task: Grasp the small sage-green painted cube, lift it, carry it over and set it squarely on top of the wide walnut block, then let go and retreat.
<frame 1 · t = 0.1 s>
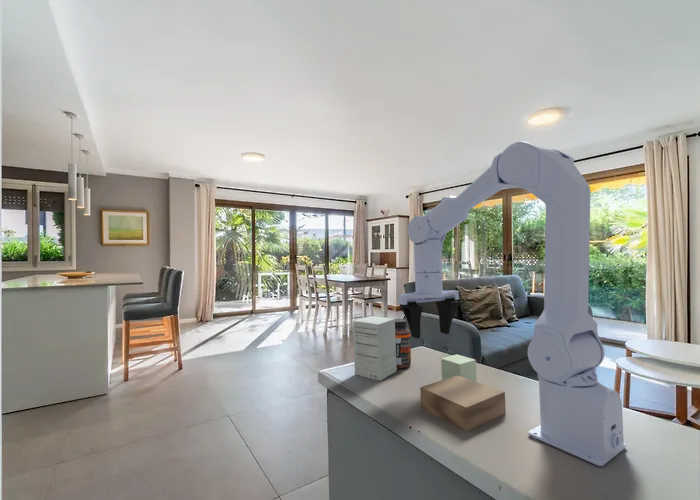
hand: (430, 335, 72), 10 cm above the counter, fingers open, 7 cm apart
supplement bottle: (399, 366, 84), on the counter
supplement box: (375, 374, 78), on the counter
sage cube: (459, 382, 72), on the counter
walnut block: (462, 412, 59), on the counter
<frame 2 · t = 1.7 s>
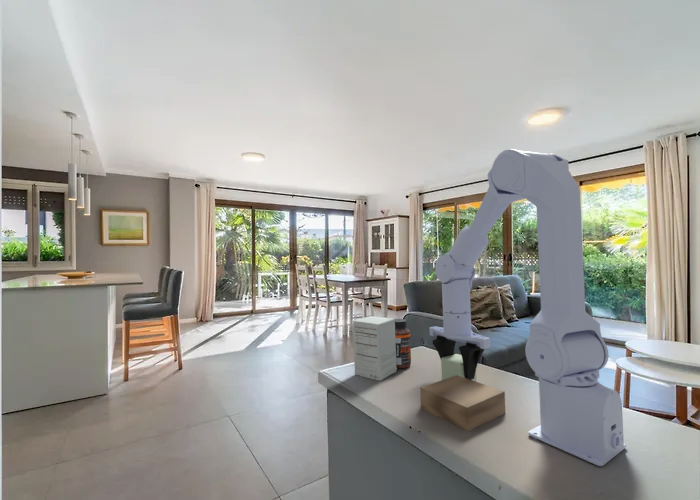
hand: (458, 375, 72), 1 cm above the counter, fingers closed on sage cube, 5 cm apart
sage cube: (459, 382, 72), on the counter, touching gripper
everything else where it was.
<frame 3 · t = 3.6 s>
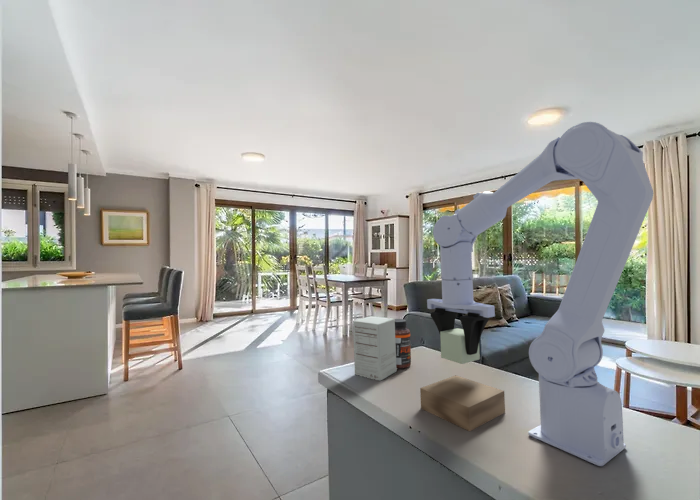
hand: (459, 350, 64), 9 cm above the counter, fingers closed on sage cube, 5 cm apart
sage cube: (460, 358, 64), point 7 cm above the counter, touching gripper
everything else where it was.
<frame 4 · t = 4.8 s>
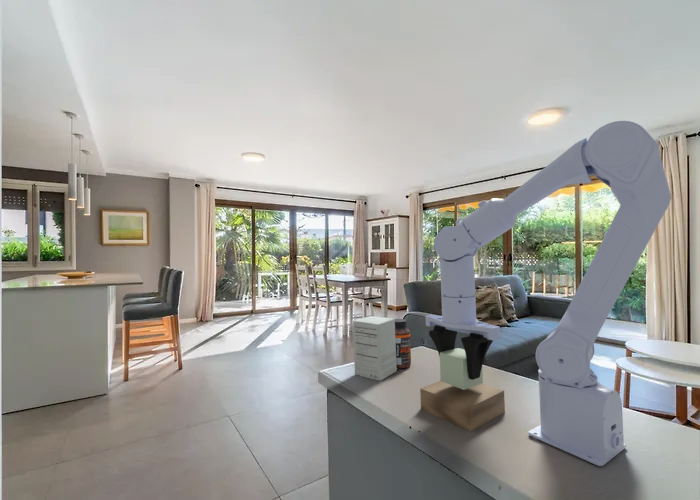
hand: (460, 373, 59), 6 cm above the counter, fingers closed on sage cube, 5 cm apart
sage cube: (461, 382, 59), point 5 cm above the counter, touching gripper
everything else where it was.
when the fingers open (6 cm above the counter, at t = 5.6 s): sage cube drops 1 cm, resting on walnut block.
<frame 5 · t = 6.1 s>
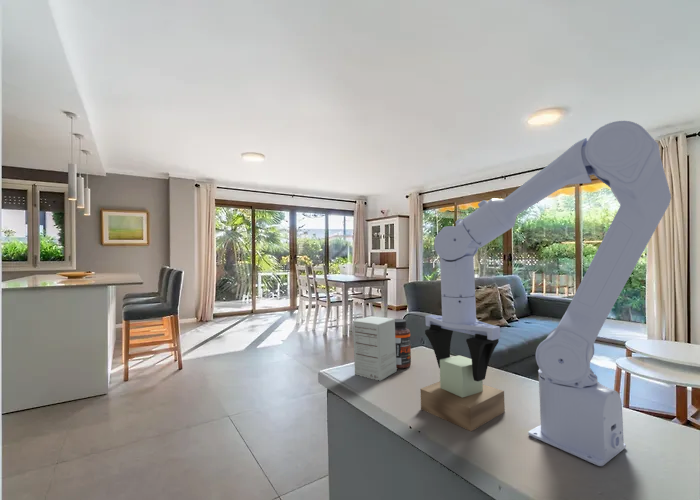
hand: (460, 373, 59), 6 cm above the counter, fingers open, 7 cm apart
sage cube: (461, 389, 59), point 4 cm above the counter, touching walnut block
walnut block: (462, 412, 59), on the counter, touching sage cube
everything else where it was.
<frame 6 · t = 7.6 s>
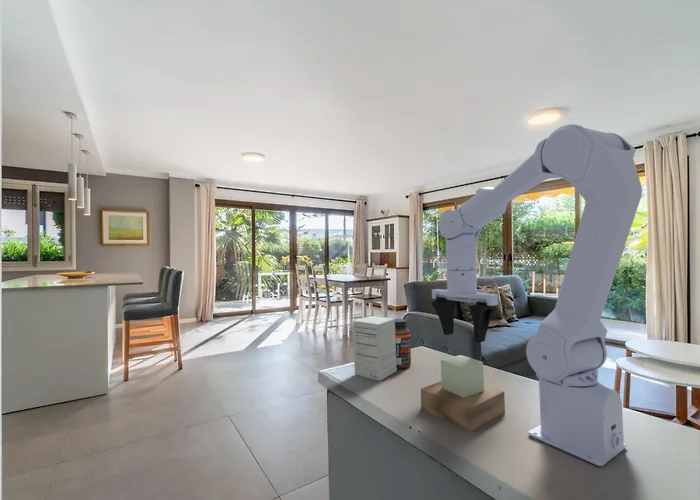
hand: (463, 337, 67), 11 cm above the counter, fingers open, 7 cm apart
sage cube: (462, 389, 59), point 4 cm above the counter
walnut block: (462, 413, 59), on the counter
everything else where it was.
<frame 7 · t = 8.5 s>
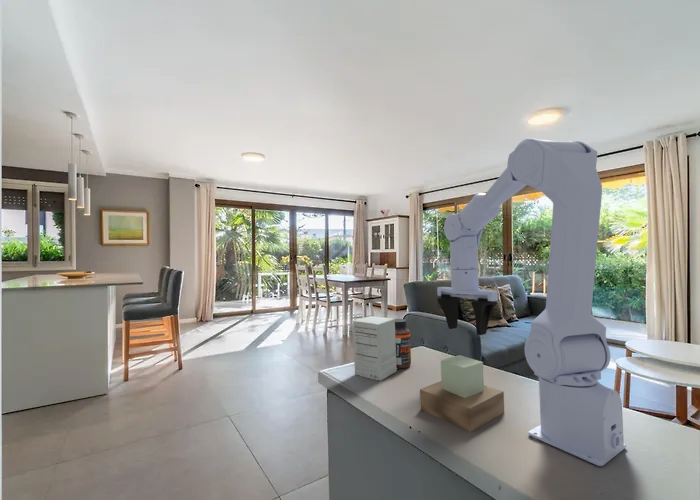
hand: (466, 331, 73), 10 cm above the counter, fingers open, 7 cm apart
sage cube: (462, 389, 59), point 4 cm above the counter, touching walnut block
walnut block: (461, 413, 58), on the counter, touching sage cube
everything else where it was.
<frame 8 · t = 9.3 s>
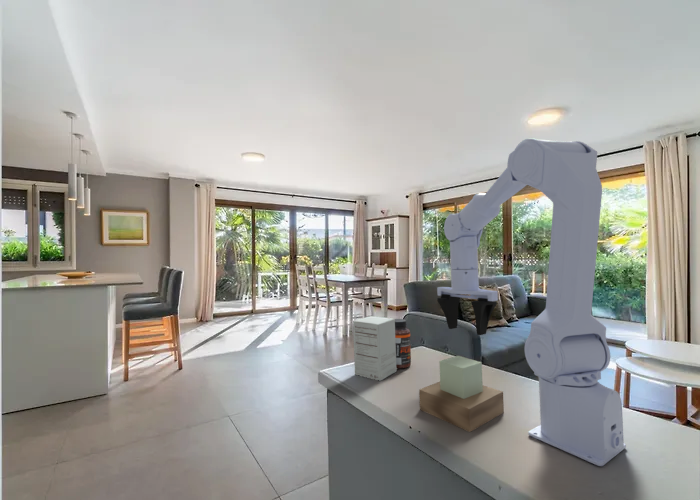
hand: (466, 331, 73), 10 cm above the counter, fingers open, 7 cm apart
nothing on the counter moved.
at the end: sage cube 0.1 cm off-centre on the walnut block, point 4.0 cm above the walnut block's base; sage cube tilted 0°; the gripper is holding nothing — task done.
